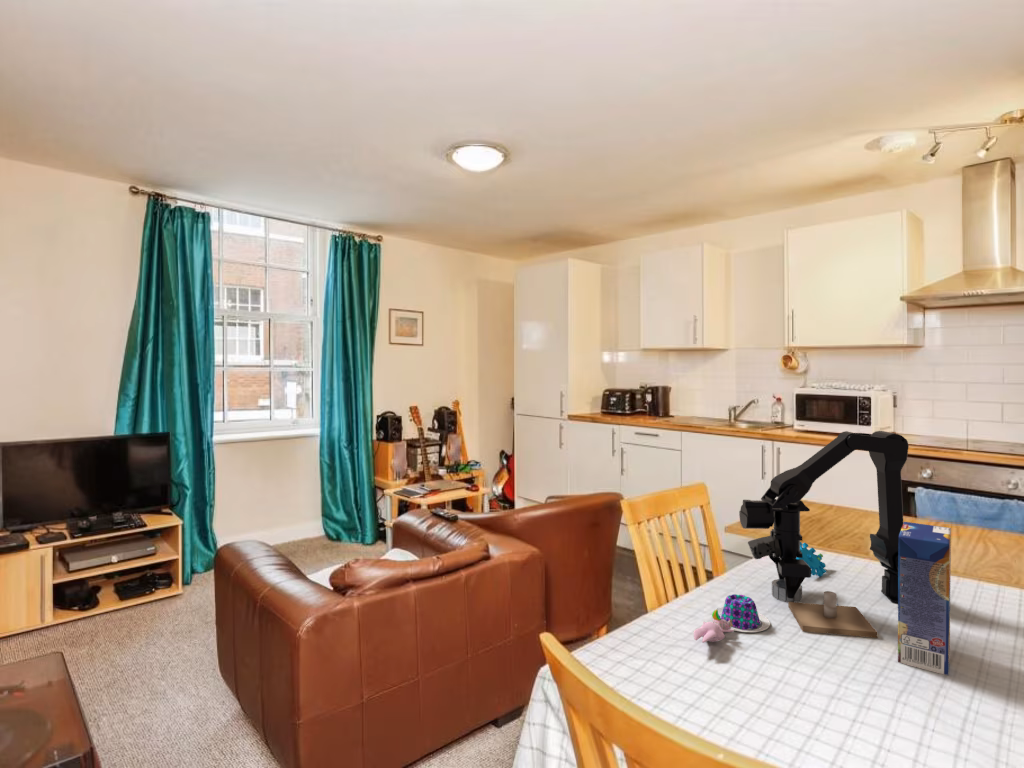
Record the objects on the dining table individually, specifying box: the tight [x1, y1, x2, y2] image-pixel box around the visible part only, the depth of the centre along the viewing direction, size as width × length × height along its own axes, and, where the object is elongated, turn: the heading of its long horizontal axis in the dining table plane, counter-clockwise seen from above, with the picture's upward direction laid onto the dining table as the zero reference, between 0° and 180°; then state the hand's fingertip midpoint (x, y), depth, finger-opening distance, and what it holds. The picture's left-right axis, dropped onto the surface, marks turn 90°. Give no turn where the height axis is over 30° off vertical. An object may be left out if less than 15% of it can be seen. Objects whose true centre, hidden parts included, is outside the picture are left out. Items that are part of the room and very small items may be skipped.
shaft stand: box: [787, 590, 878, 639], centre depth 121 cm, size 14×12×6 cm
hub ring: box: [771, 578, 803, 603], centre depth 134 cm, size 6×6×3 cm
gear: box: [796, 541, 827, 578], centre depth 150 cm, size 11×6×10 cm
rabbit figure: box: [693, 609, 734, 644], centre depth 114 cm, size 6×6×15 cm
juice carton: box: [897, 521, 952, 676], centre depth 106 cm, size 12×8×24 cm, turn 141°
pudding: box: [710, 593, 771, 633], centre depth 122 cm, size 12×12×5 cm
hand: (786, 592), depth 134 cm, fingers closed on hub ring, 6 cm apart
